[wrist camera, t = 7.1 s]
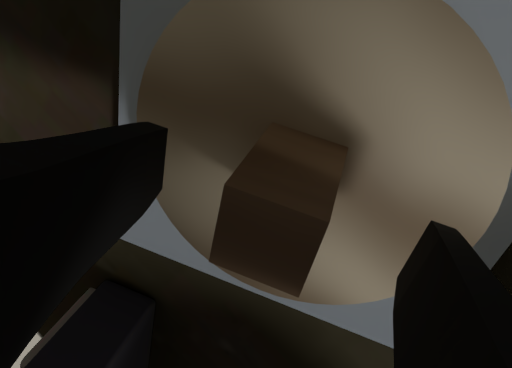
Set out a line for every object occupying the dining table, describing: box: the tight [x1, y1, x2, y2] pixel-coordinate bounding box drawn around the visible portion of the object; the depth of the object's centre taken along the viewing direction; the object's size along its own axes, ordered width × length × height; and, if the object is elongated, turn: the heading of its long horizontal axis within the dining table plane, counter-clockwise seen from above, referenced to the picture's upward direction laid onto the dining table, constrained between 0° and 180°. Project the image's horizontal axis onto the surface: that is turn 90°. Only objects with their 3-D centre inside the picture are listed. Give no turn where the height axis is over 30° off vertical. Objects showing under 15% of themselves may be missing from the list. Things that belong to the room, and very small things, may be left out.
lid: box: [136, 0, 512, 305], centre depth 11 cm, size 12×12×5 cm
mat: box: [118, 0, 512, 348], centre depth 13 cm, size 14×14×1 cm
